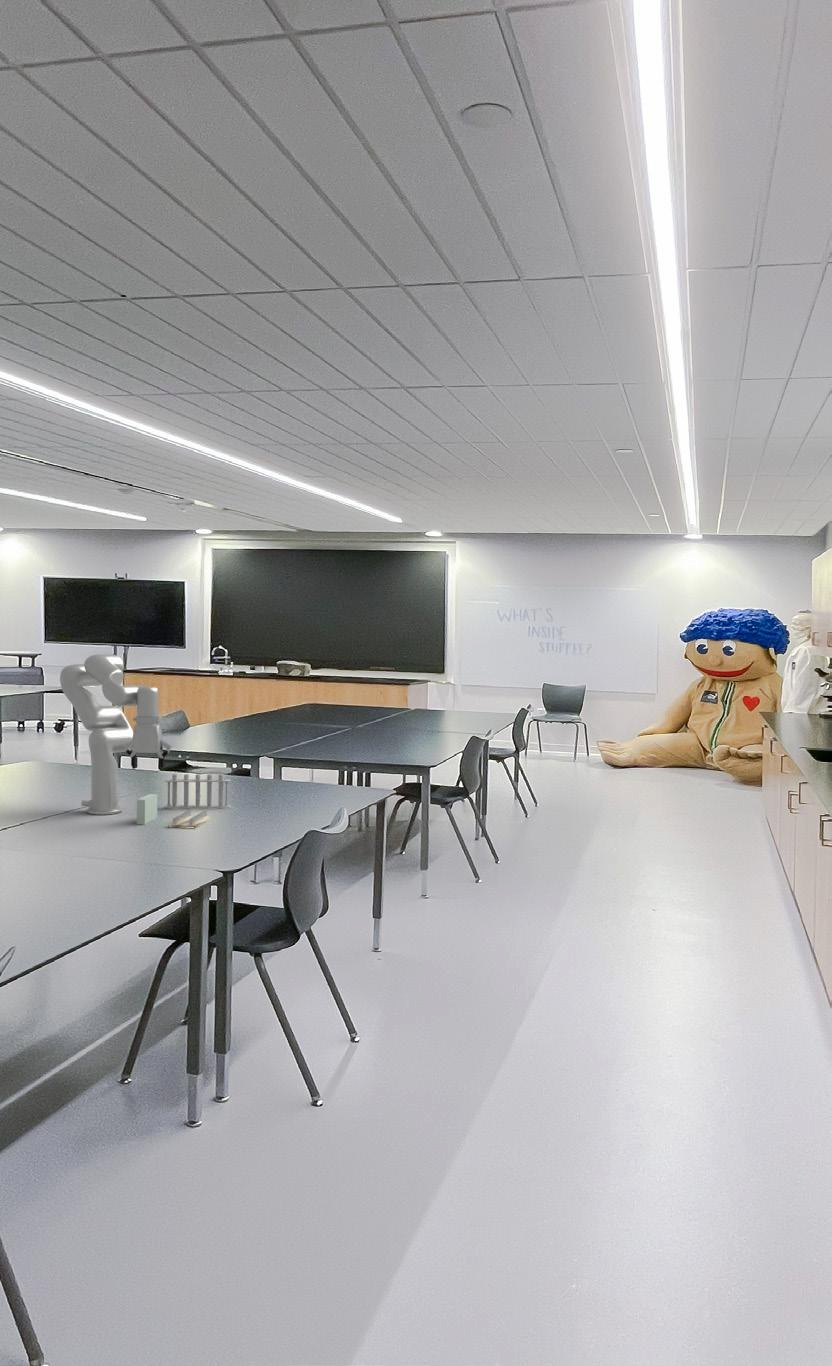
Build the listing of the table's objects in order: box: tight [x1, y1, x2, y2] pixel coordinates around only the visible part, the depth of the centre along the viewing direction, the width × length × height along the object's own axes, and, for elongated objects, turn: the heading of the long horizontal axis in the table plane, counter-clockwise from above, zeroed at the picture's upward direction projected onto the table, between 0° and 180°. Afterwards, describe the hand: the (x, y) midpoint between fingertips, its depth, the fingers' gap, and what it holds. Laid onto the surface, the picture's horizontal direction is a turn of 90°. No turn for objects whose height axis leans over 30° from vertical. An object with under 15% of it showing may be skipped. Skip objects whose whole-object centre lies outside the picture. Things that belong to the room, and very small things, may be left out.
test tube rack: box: [163, 773, 232, 809], centre depth 385 cm, size 25×4×13 cm, turn 96°
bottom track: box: [167, 810, 212, 829], centre depth 355 cm, size 10×18×3 cm, turn 174°
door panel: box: [136, 793, 158, 825], centre depth 357 cm, size 3×12×9 cm, turn 174°
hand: (147, 768), depth 356 cm, fingers open, 9 cm apart
